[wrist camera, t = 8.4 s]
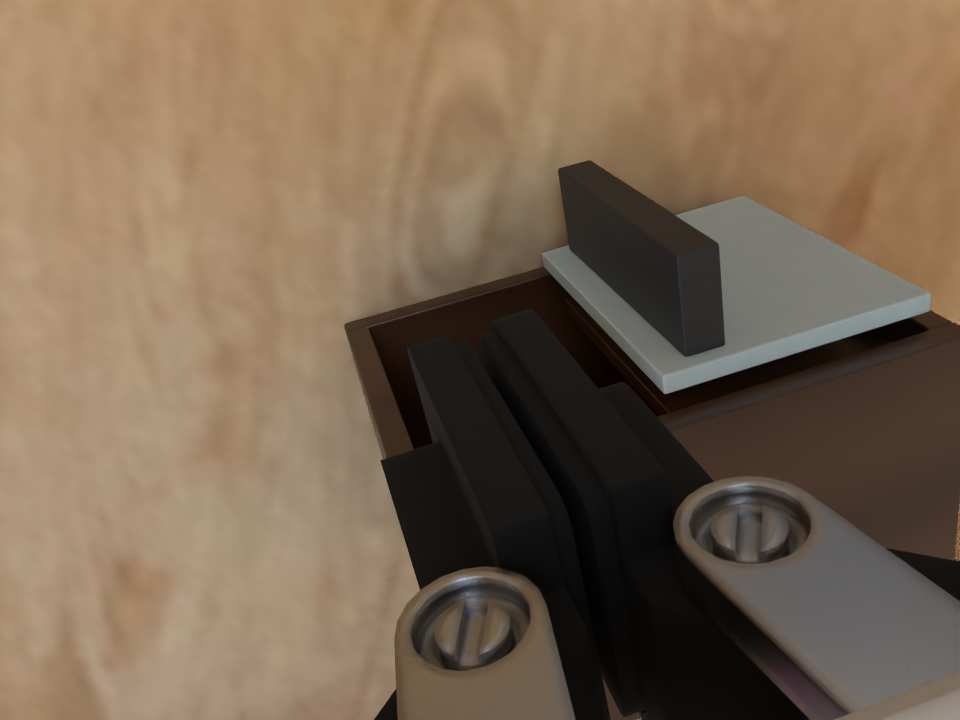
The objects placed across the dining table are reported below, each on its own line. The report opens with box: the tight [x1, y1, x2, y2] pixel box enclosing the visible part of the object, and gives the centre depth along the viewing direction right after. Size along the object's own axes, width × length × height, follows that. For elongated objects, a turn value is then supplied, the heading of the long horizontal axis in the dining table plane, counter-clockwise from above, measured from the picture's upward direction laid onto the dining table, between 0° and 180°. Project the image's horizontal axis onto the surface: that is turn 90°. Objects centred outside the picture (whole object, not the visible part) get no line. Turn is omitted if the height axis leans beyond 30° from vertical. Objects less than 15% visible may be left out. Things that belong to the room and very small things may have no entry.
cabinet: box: [344, 267, 960, 720], centre depth 31 cm, size 10×16×12 cm, turn 101°
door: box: [542, 160, 931, 394], centre depth 28 cm, size 4×8×10 cm, turn 101°
